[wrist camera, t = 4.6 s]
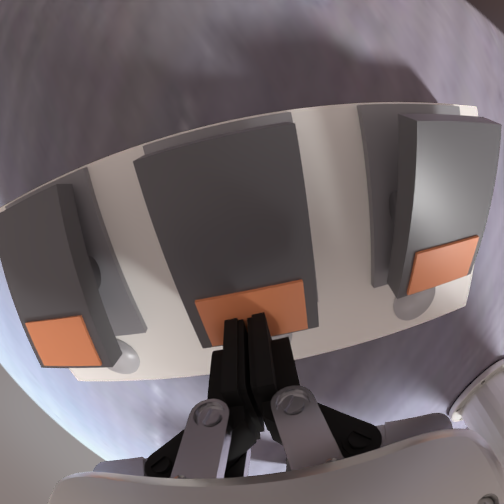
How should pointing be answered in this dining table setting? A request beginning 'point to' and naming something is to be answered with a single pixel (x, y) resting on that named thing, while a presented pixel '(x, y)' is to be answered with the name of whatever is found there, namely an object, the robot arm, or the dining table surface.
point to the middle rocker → (235, 228)
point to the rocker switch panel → (322, 233)
